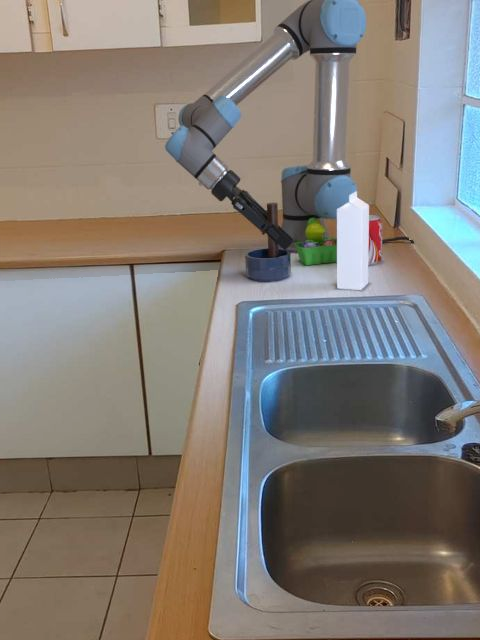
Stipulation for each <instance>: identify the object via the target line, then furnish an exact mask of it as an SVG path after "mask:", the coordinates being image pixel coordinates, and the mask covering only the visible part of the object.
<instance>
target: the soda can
mask: <svg viewBox="0 0 480 640" xmlns="http://www.w3.org/2000/svg"><path fill="white" fill-rule="evenodd" d="M382 240H383V222H382V220H381V216H379V215H376V214H369V249H368V266H372V265H377V264H379V262H381V261H382V256H383V243H382Z"/></svg>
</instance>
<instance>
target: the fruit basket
mask: <svg viewBox="0 0 480 640" xmlns="http://www.w3.org/2000/svg"><path fill="white" fill-rule="evenodd" d="M307 225H308V226H307V228H306V231H305V235H306V238H307V239H308V240H306V241H303V242H297V243H295V246H296V248H297V251H298V252H297V255H298V258H299V261H300V262H301V263H302V264H304V265H305V266H312V265H320V264H328V263H337V240H336V239H337V238H335V237H329V238H328V239H325V238H324V239H323V235H324V234H325V232H326V231H325V228H324V227H323V225H322V224H321V222H320V221H319V220H318V219H316V218H310V219H309V220H308V224H307Z"/></svg>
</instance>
